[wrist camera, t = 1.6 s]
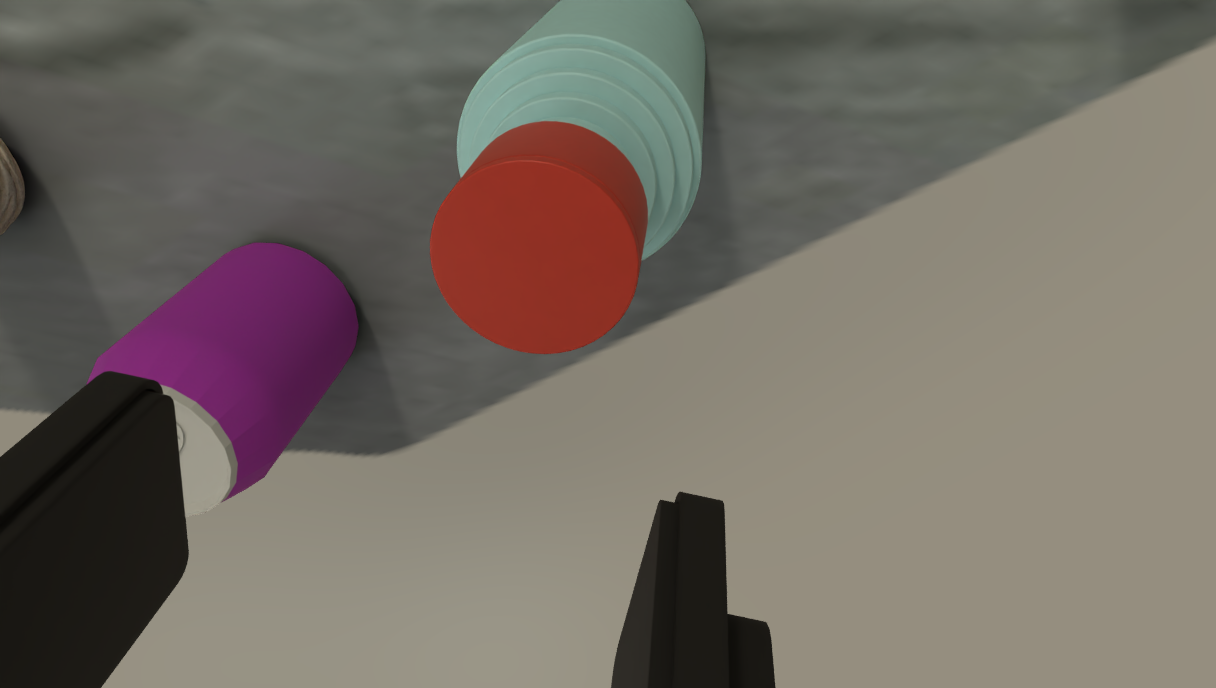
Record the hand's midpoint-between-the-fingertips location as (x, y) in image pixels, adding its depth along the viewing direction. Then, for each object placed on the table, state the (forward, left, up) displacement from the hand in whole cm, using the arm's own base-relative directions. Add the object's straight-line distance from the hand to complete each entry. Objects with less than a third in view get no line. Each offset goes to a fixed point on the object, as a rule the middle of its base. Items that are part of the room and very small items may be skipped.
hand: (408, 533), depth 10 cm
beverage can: (+15, -14, -28) cm, 34 cm away
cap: (0, 0, -10) cm, 10 cm away
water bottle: (0, 0, -28) cm, 28 cm away
